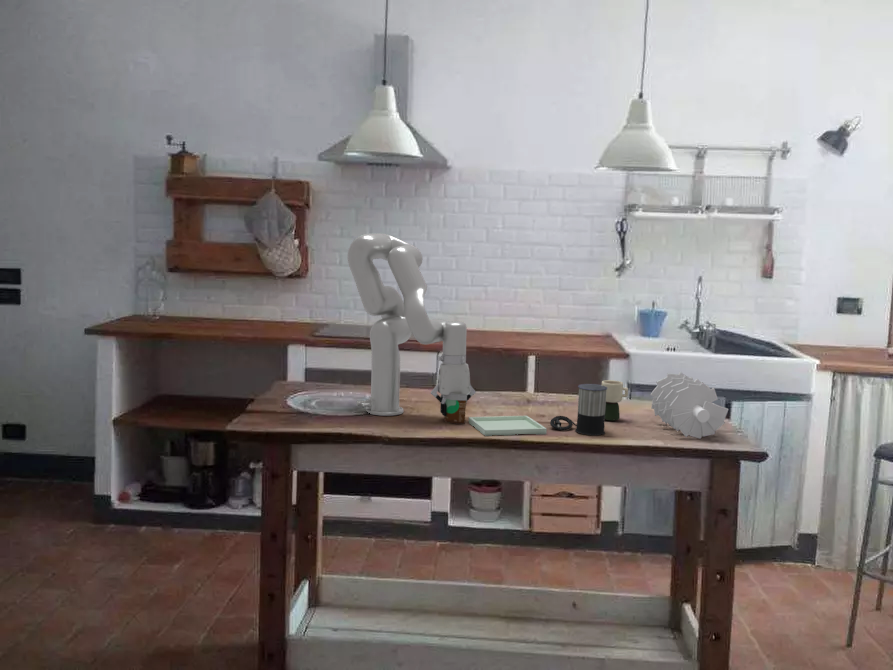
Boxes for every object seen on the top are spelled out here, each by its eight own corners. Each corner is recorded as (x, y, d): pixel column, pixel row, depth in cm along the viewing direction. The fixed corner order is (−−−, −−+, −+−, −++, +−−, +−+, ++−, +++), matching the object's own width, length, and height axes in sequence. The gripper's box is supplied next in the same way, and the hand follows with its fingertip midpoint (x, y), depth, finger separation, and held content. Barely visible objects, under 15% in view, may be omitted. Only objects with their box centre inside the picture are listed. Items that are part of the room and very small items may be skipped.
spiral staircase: (686, 453, 292) (657, 430, 316) (737, 429, 292) (704, 408, 317) (666, 401, 287) (638, 382, 312) (718, 377, 288) (686, 360, 313)
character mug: (623, 418, 320) (625, 380, 318) (628, 422, 313) (631, 384, 311) (591, 417, 319) (594, 379, 317) (596, 422, 312) (598, 383, 310)
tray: (485, 436, 288) (485, 430, 287) (468, 422, 305) (468, 417, 305) (546, 434, 293) (546, 428, 293) (526, 420, 310) (526, 415, 310)
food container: (435, 417, 311) (436, 387, 310) (452, 416, 313) (453, 386, 312) (448, 425, 299) (449, 394, 298) (466, 424, 302) (467, 394, 300)
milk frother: (609, 435, 294) (612, 389, 292) (563, 437, 290) (565, 390, 288) (590, 425, 308) (593, 380, 306) (545, 426, 303) (548, 381, 301)
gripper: (431, 362, 298) (430, 418, 300) (482, 361, 302) (481, 416, 305) (425, 358, 305) (424, 413, 307) (476, 357, 309) (474, 411, 312)
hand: (452, 414), depth 306 cm, fingers closed on food container, 5 cm apart
